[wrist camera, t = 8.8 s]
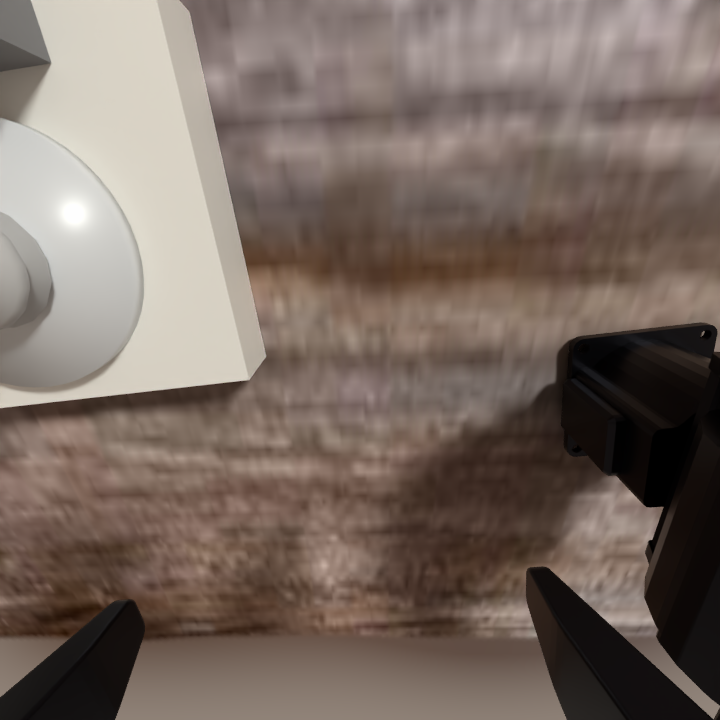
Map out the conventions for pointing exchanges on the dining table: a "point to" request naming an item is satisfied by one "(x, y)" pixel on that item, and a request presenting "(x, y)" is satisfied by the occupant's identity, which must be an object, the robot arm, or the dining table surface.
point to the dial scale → (118, 205)
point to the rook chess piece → (21, 275)
